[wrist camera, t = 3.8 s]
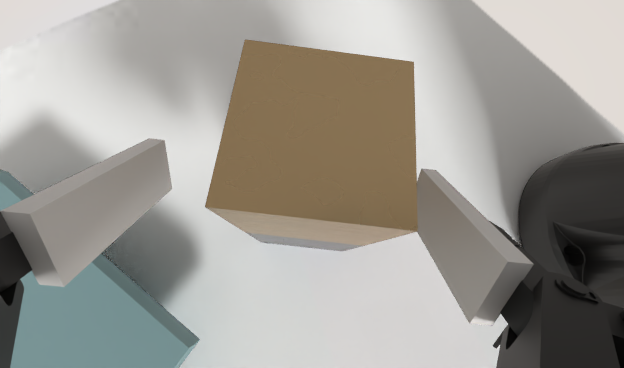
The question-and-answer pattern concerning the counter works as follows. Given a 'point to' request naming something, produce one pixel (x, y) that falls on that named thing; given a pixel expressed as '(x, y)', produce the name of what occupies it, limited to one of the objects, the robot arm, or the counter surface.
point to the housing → (318, 148)
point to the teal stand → (92, 317)
